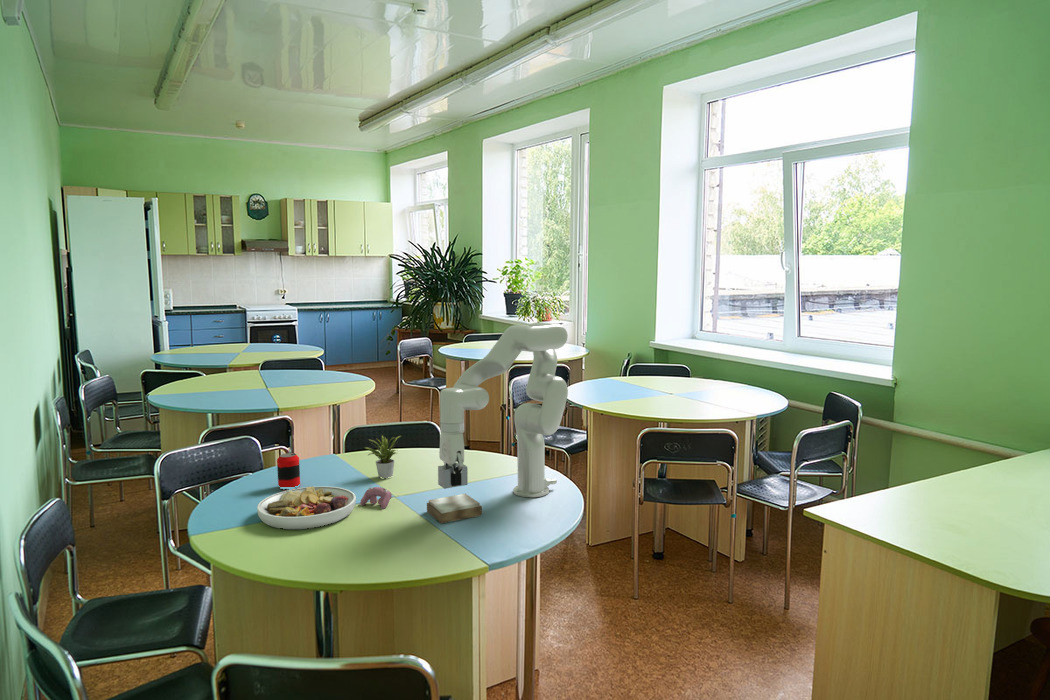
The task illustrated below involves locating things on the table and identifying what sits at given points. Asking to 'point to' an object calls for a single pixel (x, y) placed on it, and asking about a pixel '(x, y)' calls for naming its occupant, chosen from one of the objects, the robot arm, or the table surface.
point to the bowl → (306, 507)
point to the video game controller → (373, 494)
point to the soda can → (288, 470)
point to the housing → (445, 476)
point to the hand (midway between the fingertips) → (452, 482)
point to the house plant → (384, 457)
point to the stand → (454, 508)
